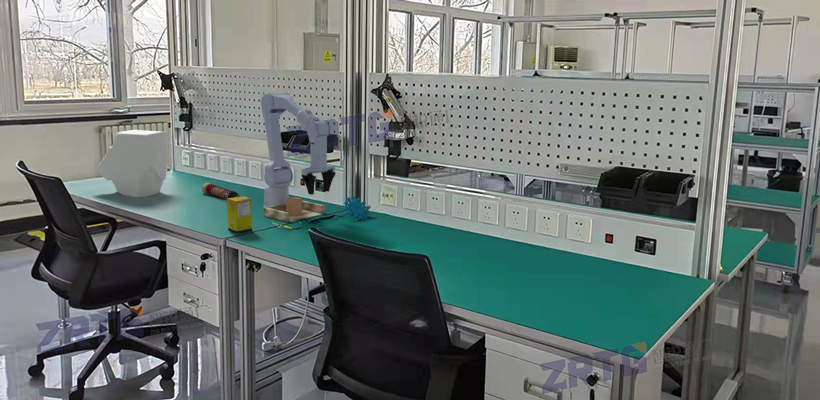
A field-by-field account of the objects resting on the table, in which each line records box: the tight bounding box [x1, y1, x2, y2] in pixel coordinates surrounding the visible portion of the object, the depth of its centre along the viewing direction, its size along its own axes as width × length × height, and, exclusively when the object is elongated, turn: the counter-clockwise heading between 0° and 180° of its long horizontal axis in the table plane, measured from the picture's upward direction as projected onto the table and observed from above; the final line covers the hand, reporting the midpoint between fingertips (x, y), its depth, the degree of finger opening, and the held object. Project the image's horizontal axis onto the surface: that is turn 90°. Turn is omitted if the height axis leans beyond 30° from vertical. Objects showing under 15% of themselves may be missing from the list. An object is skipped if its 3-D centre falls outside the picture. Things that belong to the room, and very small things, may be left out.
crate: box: [263, 200, 326, 223], centre depth 234 cm, size 13×18×4 cm
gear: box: [343, 195, 372, 221], centre depth 235 cm, size 11×6×10 cm
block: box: [286, 196, 303, 216], centre depth 234 cm, size 4×4×6 cm
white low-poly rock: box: [95, 129, 169, 198], centre depth 269 cm, size 21×27×26 cm
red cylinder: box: [201, 182, 241, 201], centre depth 263 cm, size 5×5×30 cm
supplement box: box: [226, 195, 253, 234], centre depth 212 cm, size 6×6×11 cm
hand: (318, 192), depth 229 cm, fingers open, 7 cm apart
